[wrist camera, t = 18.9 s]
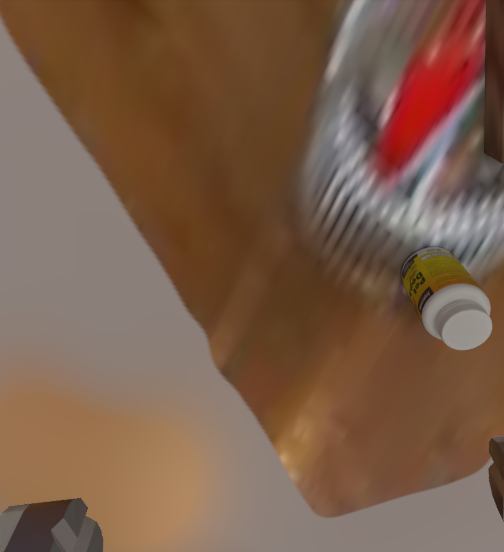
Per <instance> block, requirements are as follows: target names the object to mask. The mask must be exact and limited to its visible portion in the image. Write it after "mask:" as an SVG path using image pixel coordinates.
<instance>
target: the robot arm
mask: <svg viewBox="0 0 504 552" xmlns="http://www.w3.org/2000/svg"><path fill="white" fill-rule="evenodd" d="M489 453H490V455H491V457H492V459H493V461H494V463H493V464H492V465H491V466H490V467H489V482H490V487H491V491H492V495H493V498H494V501H495V503H496V506H497V509H498V511H499V513H500V515H501V517H502V519H503V521H504V436H500V437H494V438H491V440H490V441H489ZM87 509H88V507H87V506H86V505H85V503H84V502H83V500H82V499H81V498H77V499H68V500H59V501H50V502H42V503H32V504H25V505H17V506H10V507H8V508H7V509H6V510H5V511H4V512H3V513H2V514H1V516H0V552H103V536H102V532H101V529H100V527H99V525H98V524H97V522H96V521H94V520H92V519H91V518H89V517H87V516H85V515H86V512H87Z"/></svg>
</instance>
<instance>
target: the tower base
mask: <svg viewBox="0 0 504 552" xmlns="http://www.w3.org/2000/svg"><path fill="white" fill-rule="evenodd" d="M484 153H486V154H487V155H489V156H491V157H492V158H494V159H496V160H497V161H499V162H501V163H504V0H486V50H485V132H484Z"/></svg>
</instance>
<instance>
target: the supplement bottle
mask: <svg viewBox="0 0 504 552" xmlns="http://www.w3.org/2000/svg"><path fill="white" fill-rule="evenodd" d="M401 279H402V283H403V286H404V288H405V290H406V292H407V294H408V296H409V298H410V300H411V302H412V303H413V305H414V307H415V309H416V311H417V313H418V315H419V317H420V319H421V321H422V323H423V325H424V327H425V328H426V330H427V331H428V332H429V333H430V334H431V335H432V336H434V337H436V338H438V339H440V340H443V341H444V342H445V344H446V345H447V346H449V347H451V348H453V349H456V350H469V349H472V348H475V347H477V346H479V345H481V344H482V343H483V342H485V341H486V339H487V338H488V337H489V335H490V334H491V331H492V321H491V319H490V317H489V316H490V310H491V309H490V302H489V299H488V298H487V296H486V294H485V293H484V292H483V290H482V289H481V288H480V287H479V285H478V284H477V283H476V282H475V281H474V279H473V278H472V277H471V276H470V274H469V273H468V272H467V271H466V269H465V268H464V267H463V266H462V264H461V263H460V262H459V260H458V259H457V258H456V257H455V256H454V255H453V254H452V253H451V252H450V251H448V250H446V249H444V248H440V247H428V248H424V249H421V250H419V251H417V252H415V253H414V254H412V255H411V256H410V257H409V258H408V259H407V261H406V262H405V264H404V266H403V268H402V272H401Z"/></svg>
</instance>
